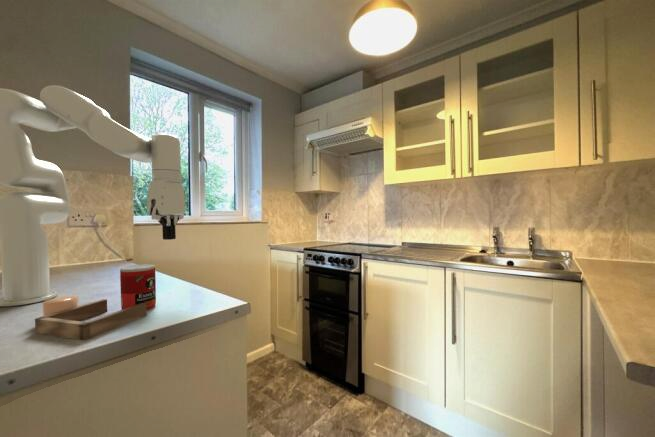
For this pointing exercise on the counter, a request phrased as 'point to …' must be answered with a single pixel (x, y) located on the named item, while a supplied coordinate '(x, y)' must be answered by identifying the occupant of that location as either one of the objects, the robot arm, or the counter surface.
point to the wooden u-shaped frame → (71, 327)
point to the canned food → (138, 285)
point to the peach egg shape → (59, 304)
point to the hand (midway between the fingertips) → (169, 239)
